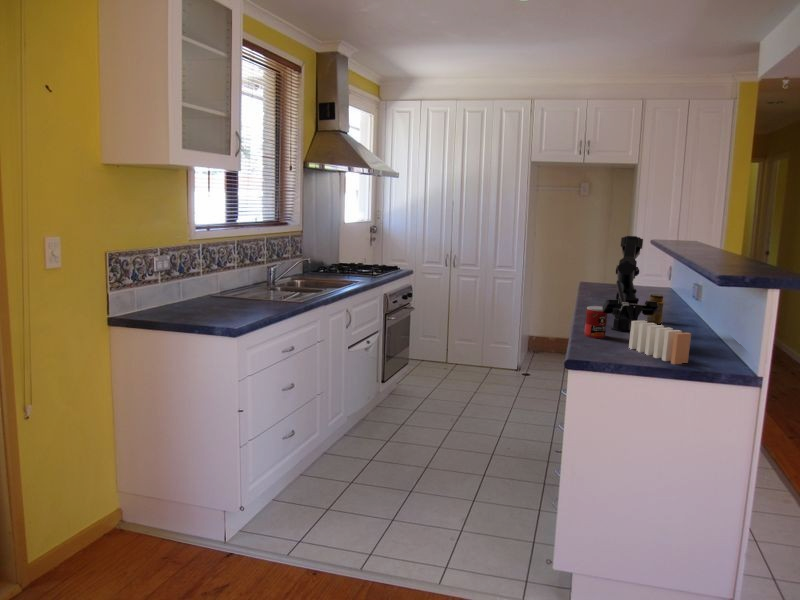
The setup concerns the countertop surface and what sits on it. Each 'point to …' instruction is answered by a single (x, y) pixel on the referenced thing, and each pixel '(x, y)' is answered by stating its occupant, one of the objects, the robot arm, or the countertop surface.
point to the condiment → (658, 314)
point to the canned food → (595, 322)
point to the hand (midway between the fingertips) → (634, 326)
